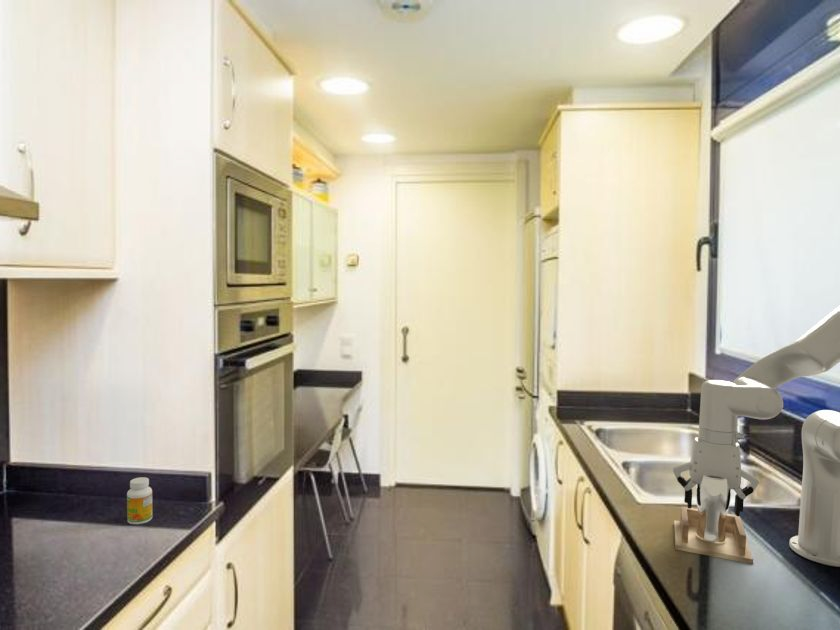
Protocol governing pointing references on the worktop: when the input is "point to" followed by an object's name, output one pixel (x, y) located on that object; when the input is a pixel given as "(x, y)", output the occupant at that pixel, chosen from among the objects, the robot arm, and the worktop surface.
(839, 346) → the robot arm
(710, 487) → the beer glass
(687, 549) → the glass rest
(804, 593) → the worktop surface
